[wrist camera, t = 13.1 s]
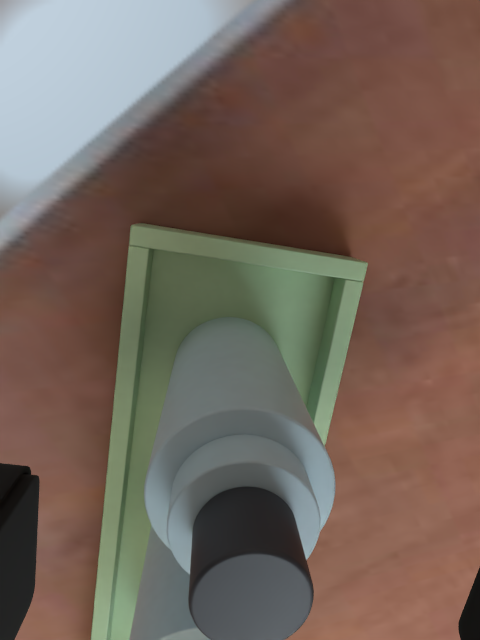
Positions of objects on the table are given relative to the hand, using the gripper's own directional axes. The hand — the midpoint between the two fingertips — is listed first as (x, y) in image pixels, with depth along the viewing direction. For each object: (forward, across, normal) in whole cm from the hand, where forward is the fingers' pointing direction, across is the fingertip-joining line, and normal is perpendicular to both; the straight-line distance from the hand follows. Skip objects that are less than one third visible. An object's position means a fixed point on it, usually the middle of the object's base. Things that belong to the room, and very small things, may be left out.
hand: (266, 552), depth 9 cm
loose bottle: (+11, 0, +1) cm, 11 cm away
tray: (+12, 0, +8) cm, 14 cm away
